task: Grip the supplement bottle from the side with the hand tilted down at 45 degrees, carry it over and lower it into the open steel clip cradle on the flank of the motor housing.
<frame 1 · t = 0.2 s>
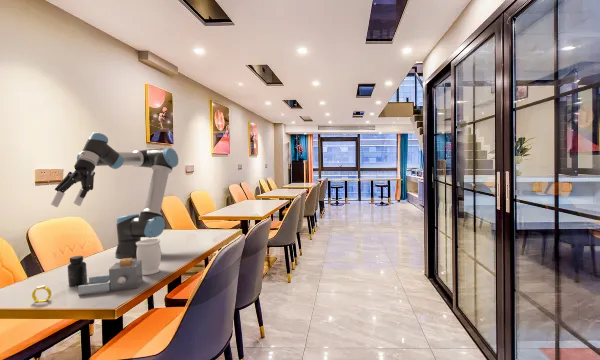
hand: (65, 205, 141), 35 cm above the table, tool tilted 35°, fingers open, 13 cm apart
supplement bottle: (78, 284, 145), on the table
jar: (150, 272, 158), on the table
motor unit: (111, 287, 139), on the table
watch: (42, 301, 127), on the table
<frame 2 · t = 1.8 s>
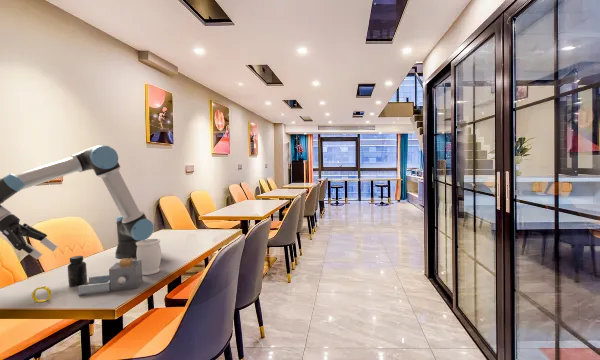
hand: (48, 252, 142), 15 cm above the table, tool tilted 45°, fingers open, 13 cm apart
nothing on the table moved.
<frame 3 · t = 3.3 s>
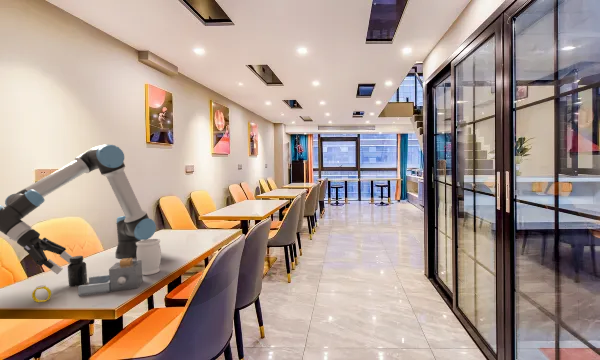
hand: (67, 266, 144), 8 cm above the table, tool tilted 45°, fingers open, 13 cm apart
nothing on the table moved.
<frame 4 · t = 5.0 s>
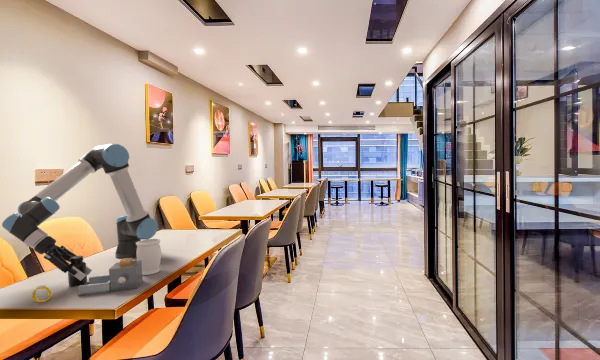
hand: (86, 275, 146), 4 cm above the table, tool tilted 45°, fingers closed on supplement bottle, 7 cm apart
supplement bottle: (78, 284, 145), on the table, touching gripper
everything else where it was.
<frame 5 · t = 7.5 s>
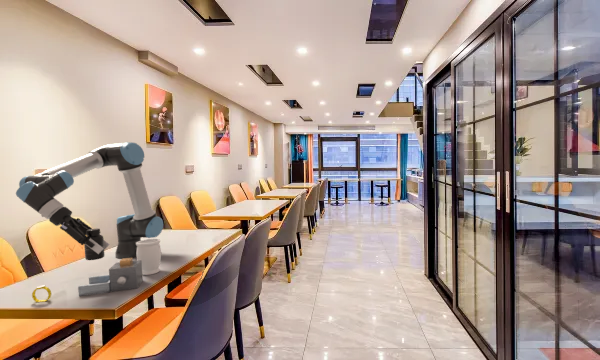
hand: (104, 249, 138), 16 cm above the table, tool tilted 45°, fingers closed on supplement bottle, 7 cm apart
supplement bottle: (95, 258, 138), point 13 cm above the table, touching gripper
everything else where it was.
when the fingers open (5 cm above the table, at t = 9.9 s): supplement bottle drops 1 cm, resting on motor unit.
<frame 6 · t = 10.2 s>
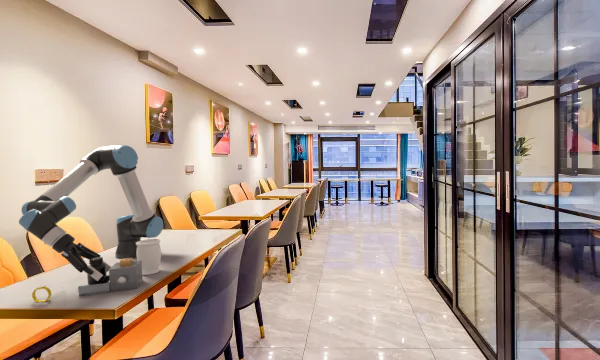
hand: (105, 273, 139), 6 cm above the table, tool tilted 45°, fingers open, 10 cm apart
supplement bottle: (97, 287, 138), point 1 cm above the table, touching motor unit
everything else where it was.
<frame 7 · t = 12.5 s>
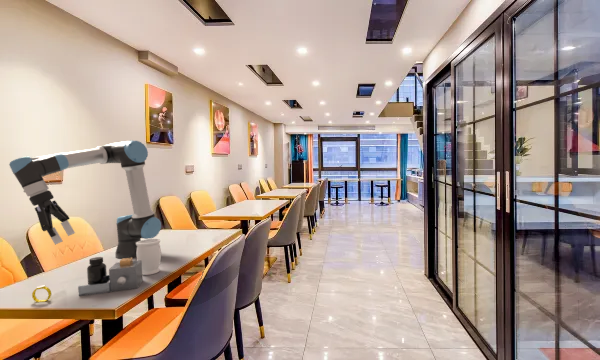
hand: (65, 238, 141), 21 cm above the table, tool tilted 20°, fingers open, 13 cm apart
nothing on the table moved.
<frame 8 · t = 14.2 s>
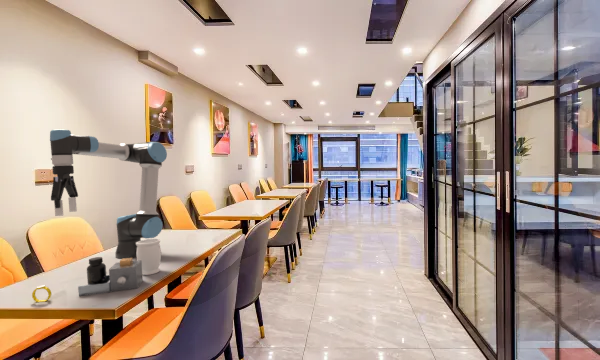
hand: (66, 213, 147), 31 cm above the table, tool pointing down, fingers open, 13 cm apart
nothing on the table moved.
at the end: supplement bottle inside the target area on the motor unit (0.1 cm from its centre), point 0.6 cm above the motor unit's base; supplement bottle tilted 0°; the gripper is holding nothing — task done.
